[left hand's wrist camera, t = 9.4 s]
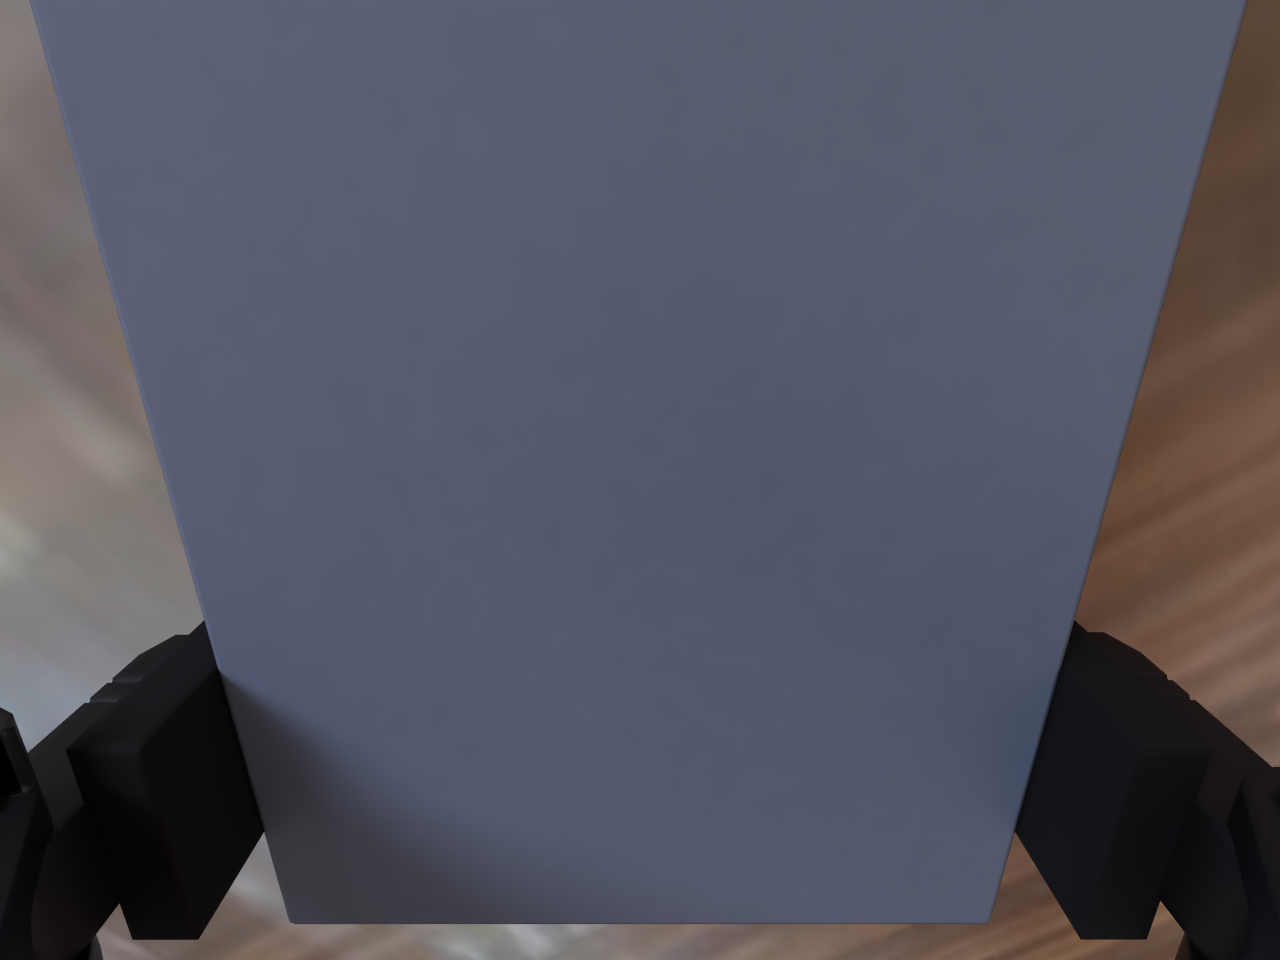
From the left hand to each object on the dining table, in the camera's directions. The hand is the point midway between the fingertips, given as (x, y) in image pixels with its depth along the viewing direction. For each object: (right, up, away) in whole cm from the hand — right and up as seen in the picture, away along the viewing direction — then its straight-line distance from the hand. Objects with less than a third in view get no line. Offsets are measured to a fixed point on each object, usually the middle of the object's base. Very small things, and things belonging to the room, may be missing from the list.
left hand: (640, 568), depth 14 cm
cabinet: (0, +9, +1) cm, 9 cm away
